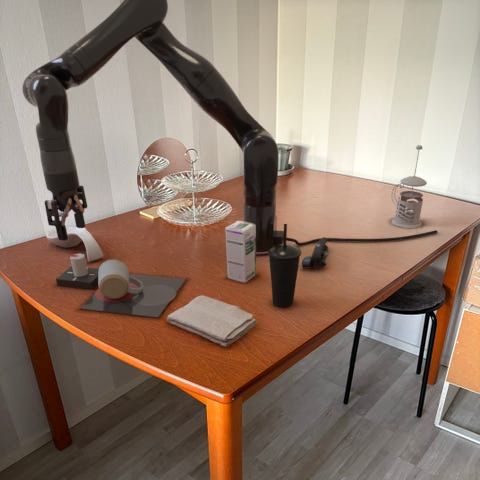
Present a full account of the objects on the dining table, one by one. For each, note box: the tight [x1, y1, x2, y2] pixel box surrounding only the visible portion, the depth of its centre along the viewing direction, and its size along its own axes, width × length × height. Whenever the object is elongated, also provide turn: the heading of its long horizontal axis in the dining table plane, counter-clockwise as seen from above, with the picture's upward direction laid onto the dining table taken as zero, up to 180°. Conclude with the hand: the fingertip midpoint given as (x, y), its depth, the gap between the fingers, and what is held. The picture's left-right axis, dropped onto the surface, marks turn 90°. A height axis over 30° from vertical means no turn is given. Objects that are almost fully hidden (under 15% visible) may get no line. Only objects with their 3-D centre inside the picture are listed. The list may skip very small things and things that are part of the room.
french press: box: [391, 144, 428, 229], centre depth 158 cm, size 10×12×25 cm
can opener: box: [301, 236, 329, 269], centre depth 139 cm, size 18×7×6 cm, turn 160°
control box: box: [55, 265, 99, 290], centre depth 130 cm, size 10×8×2 cm
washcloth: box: [166, 295, 258, 348], centre depth 110 cm, size 12×18×3 cm, turn 54°
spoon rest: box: [45, 225, 104, 263], centre depth 147 cm, size 24×12×7 cm, turn 43°
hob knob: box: [69, 253, 88, 277], centre depth 128 cm, size 4×4×5 cm
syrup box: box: [224, 220, 257, 284], centre depth 128 cm, size 6×6×14 cm
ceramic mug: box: [97, 259, 143, 299], centre depth 122 cm, size 11×8×8 cm
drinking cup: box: [267, 223, 302, 309], centre depth 114 cm, size 8×8×20 cm
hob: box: [79, 273, 187, 319], centre depth 124 cm, size 21×20×1 cm
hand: (72, 233), depth 124 cm, fingers open, 8 cm apart
